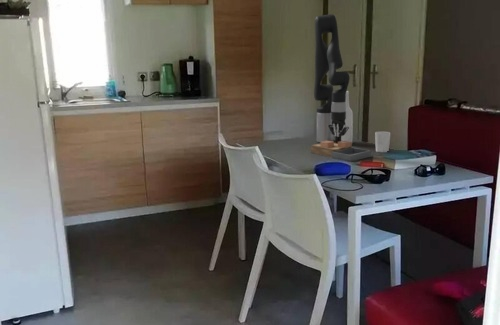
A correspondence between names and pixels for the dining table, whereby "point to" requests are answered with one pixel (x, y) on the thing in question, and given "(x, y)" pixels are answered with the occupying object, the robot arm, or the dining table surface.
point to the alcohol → (348, 121)
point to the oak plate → (326, 149)
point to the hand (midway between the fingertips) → (338, 143)
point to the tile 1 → (327, 144)
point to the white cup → (382, 141)
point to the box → (351, 154)
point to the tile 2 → (344, 144)
